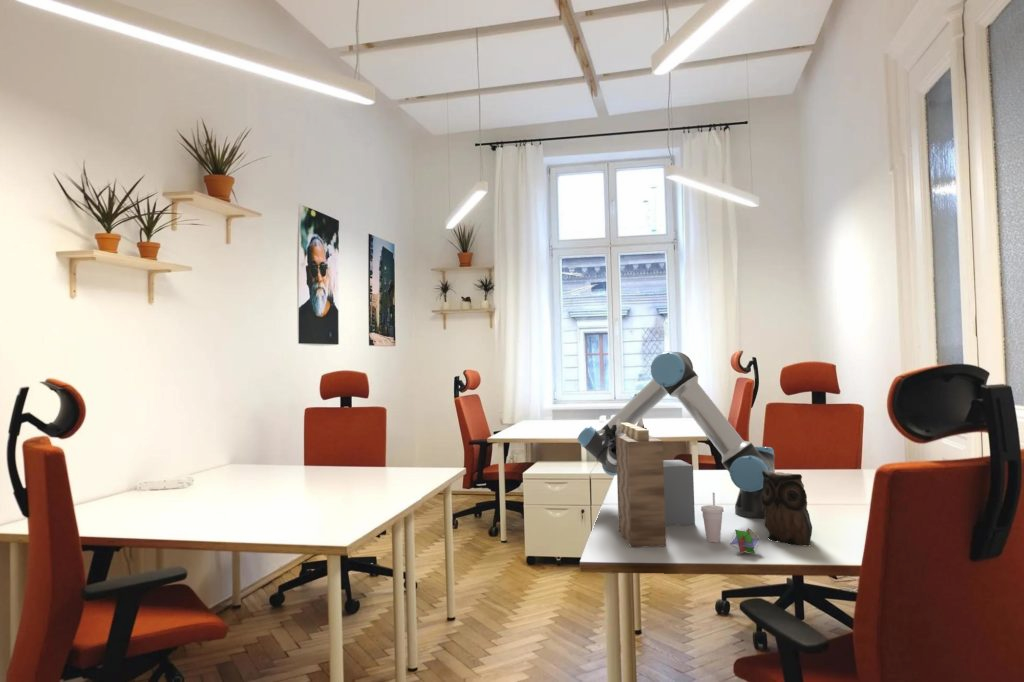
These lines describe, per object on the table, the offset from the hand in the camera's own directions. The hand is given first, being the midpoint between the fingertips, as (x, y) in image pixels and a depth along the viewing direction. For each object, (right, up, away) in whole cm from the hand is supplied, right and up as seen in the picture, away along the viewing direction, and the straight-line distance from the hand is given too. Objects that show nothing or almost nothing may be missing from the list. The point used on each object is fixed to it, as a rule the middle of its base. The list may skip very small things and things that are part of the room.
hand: (630, 422), depth 209 cm
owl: (+44, -33, -17) cm, 58 cm away
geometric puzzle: (+26, -33, -29) cm, 51 cm away
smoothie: (+22, -33, -16) cm, 43 cm away
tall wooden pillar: (+1, -34, -12) cm, 35 cm away
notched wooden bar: (0, -4, -3) cm, 5 cm away
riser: (+16, -34, +11) cm, 39 cm away
